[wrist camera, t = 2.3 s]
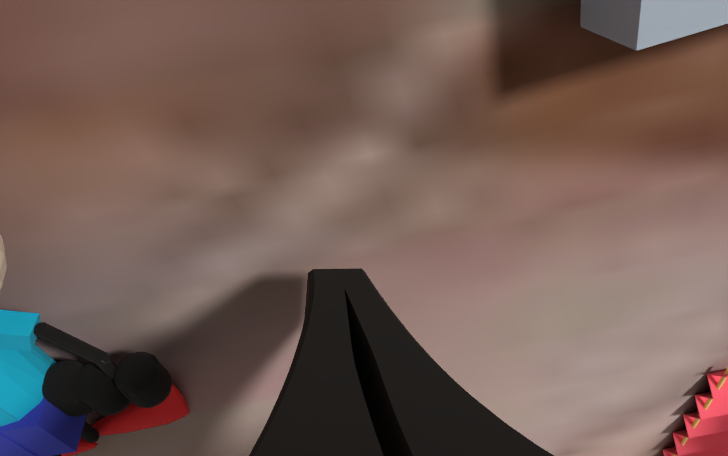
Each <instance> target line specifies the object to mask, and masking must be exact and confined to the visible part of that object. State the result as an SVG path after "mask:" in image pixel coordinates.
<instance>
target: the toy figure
mask: <svg viewBox="0 0 728 456" xmlns="http://www.w3.org/2000/svg"><path fill="white" fill-rule="evenodd" d="M6 269H7V265H6V254H5V248H4V243H3V238H2V236H1V235H0V291H1V288H2V284H3V281H4V277H5V273H6ZM37 337H39V338H41V339H43V340H45V341H48V342H50V343H52V344H54V345H56V346H58V347H60V348H63V349H65V350H67V351H69V352H71V353H73V354H76V355H78V356H80V357H82V358H84V359H86V360H89V361H91V362H90V363H88V364H87V365H83V364H82V363H80V362H77V361H73V360H64V361H60V362H56V361H54V360H53V359H52V358H51V357H50V356H49V355H47V354H46V353H45V352H44V351H43V350H42V349H40V348H39V347H38V346H37V345H36V344H35V341H36V339H37ZM131 402H132V403H131ZM93 410H94V411H95V412H97V413H98V414H100V415H105V416H106V417H104V418H102V419H101V420H99V421H97V422H96V423H95V424H93V425H92V426H91V425H90V424H88V423H87V422H86V421H85V420H86V416H87V414H88V413H90V412H91V411H93ZM189 412H190V411H189V408H188V406H187V402H186V400H185V398H184V397H183V396H182V394H181V393H180V391H179V390H178V389H177V388H176V387H175V386H174V385H173V384H172V379H171V376H170V374H169V373H168V371H167V370H166V369H165V368H164V367H163V366H162V364H161V363H160V362H159V361H158V360H157V359H156V358H155V357H154V356H153V355H151V354H149V353H146V352H136V353H133V354H130V355H128V356H126V357H125V358H124V359H122V360H121V361H120V363H119V364H118V366H117V365H116V364H115V363H114V362H111V361H110V356H109V354H108V353H106V352H104V351H102V350H100V349H98V348H96V347H94V346H91V345H89V344H87V343H85V342H83V341H81V340H79V339H77V338H75V337H73V336H71V335H69V334H67V333H65V332H63V331H61V330H59V329H57V328H55V327H53V326H50V325H48V324H46V323H44V322H43V323H40V317H39V314H38V313H28V312H18V311H9V310H0V456H70V455H74V454H78V453H81V452H84V451H87V450H90V449H92V448H95V447H96V446H97V445H98V444H97V443H96V441H97V440H98V439H99V436H100V435H109V434H118V433H126V432H132V431H136V430H141V429H146V428H151V427H155V426H160V425H164V424H168V423H171V422H173V421H176V420H178V419H180V418H182V417H184V416H186V415H187V414H189Z"/></svg>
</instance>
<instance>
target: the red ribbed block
mask: <svg viewBox="0 0 728 456" xmlns="http://www.w3.org/2000/svg"><path fill="white" fill-rule="evenodd" d="M707 378H708V382H709V386H710V390H711V392H706V393H701V394H695V395H694V396H695V400H696V404H697V408H698V411H697V412H692V413H687V414H683V417H684V421H685V425H686V430H682V431H677V432H672V433H673V437H674V442H675V446H676V447H672V448H667V449H663V454H664V456H728V368H727V369H726V370H724V371H719V372H713V373H707Z"/></svg>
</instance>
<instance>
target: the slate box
mask: <svg viewBox="0 0 728 456" xmlns="http://www.w3.org/2000/svg"><path fill="white" fill-rule="evenodd" d="M724 24H728V0H581V14H580V27H582V28H584V29H587V30H589V31H591V32H594V33H596V34H598V35H601V36H603V37H605V38H608V39H610V40H612V41H615V42H617V43H619V44H622V45H624V46H626V47H629V48H631V49H633V50H636V51H638V50H641V49H644V48H648V47H651V46H654V45H658V44H661V43H664V42H668V41H671V40H674V39H678V38H681V37H684V36H688V35H691V34H694V33H698V32H701V31H704V30H708V29H711V28H714V27H718V26H721V25H724Z"/></svg>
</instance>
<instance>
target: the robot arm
mask: <svg viewBox="0 0 728 456" xmlns="http://www.w3.org/2000/svg"><path fill="white" fill-rule="evenodd" d="M249 456H554V455H552V454H550V453H549V452H547V451H545V450H544V449H542V448H541V447H539V446H537V445H536V444H534V443H533V442H532V441H530V440H529V439H527V438H526V437H524V436H523V435H522V434H520V433H519V432H517V431H516V430H514V429H513V428H512V427H510V426H509V425H507V424H506V423H505V422H503V421H502V420H501V419H500V418H498V417H497V416H496V415H495V414H493V413H492V412H491V411H490V410H488V409H487V408H486V407H485V406H483V405H482V404H481V403H480V402H478V401H477V400H476V399H475V398H473V397H472V396H471V395H470V394H469V393H468V392H466V391H465V390H464V389H463V388H462V387H461V386H460V385H459V384H457V383H456V382H455V381H454V380H453V379H452V378H451V377H450V376H449V375H448V374H447V373H446V372H445V371H444V370H443V369H442V368H441V367H440V366H439V365H438V364H437V363H436V362H435V361H434V360H433V359H432V358H431V357H430V356H429V355H428V353H427V352H426V351H425V350H424V349H423V348H422V347H421V346H420V345H419V343H418V342H417V341H416V340H415V339H414V338H413V336H412V335H411V334H410V333H409V332H408V330H407V329H406V328H405V327H404V325H403V324H402V323H401V322H400V320H399V319H398V318H397V317H396V315H395V314H394V313H393V312H392V310H391V309H390V308H389V306H388V305H387V303H386V302H385V301H384V299H383V298H382V297H381V295H380V294H379V292H378V291H377V289H376V288H375V286H374V285H373V284H372V282H371V281H370V279H369V278H368V276H367V274H366V273H365V272H364V271H363V270H362V269H313V270H312V271H310V272H309V273H308V280H307V294H306V307H305V320H304V324H303V329H302V332H301V336H300V339H299V342H298V346H297V349H296V352H295V355H294V358H293V361H292V364H291V367H290V370H289V372H288V375H287V378H286V380H285V383H284V385H283V387H282V390H281V392H280V395H279V397H278V399H277V401H276V404H275V406H274V408H273V410H272V412H271V414H270V417H269V419H268V421H267V423H266V425H265V427H264V429H263V431H262V433H261V435H260V437H259V438H258V440H257V442H256V444H255V446H254V448H253V449H252V451H251V453H250V455H249Z"/></svg>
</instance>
